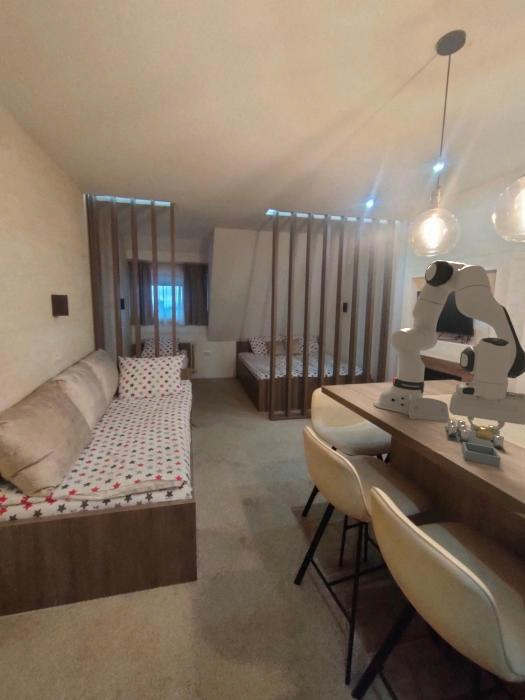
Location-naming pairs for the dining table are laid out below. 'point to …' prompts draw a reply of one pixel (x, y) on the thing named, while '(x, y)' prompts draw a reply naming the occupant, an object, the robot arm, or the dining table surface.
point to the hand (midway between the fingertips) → (484, 432)
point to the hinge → (428, 409)
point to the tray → (480, 454)
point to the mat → (472, 439)
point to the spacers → (465, 433)
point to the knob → (484, 433)
